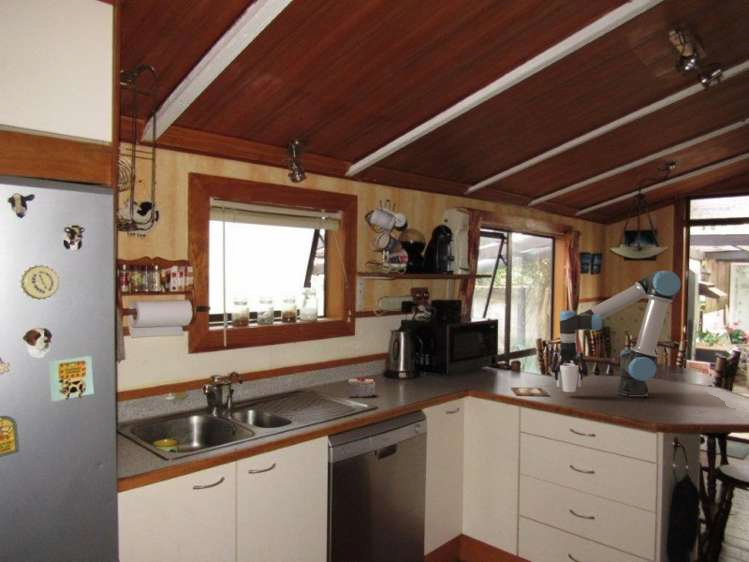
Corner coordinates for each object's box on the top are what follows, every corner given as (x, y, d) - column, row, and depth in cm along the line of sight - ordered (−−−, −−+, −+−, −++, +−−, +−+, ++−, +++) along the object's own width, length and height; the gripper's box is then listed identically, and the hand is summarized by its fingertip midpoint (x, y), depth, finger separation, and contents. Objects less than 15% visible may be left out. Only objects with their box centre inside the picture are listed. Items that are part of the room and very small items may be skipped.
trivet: (541, 389, 287) (541, 387, 287) (549, 396, 271) (549, 394, 271) (510, 389, 288) (510, 386, 288) (516, 395, 272) (516, 393, 272)
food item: (373, 394, 275) (373, 374, 275) (375, 397, 267) (375, 377, 267) (346, 394, 273) (347, 375, 273) (347, 398, 266) (347, 378, 265)
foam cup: (575, 393, 263) (574, 366, 263) (556, 391, 269) (555, 365, 269) (581, 389, 271) (580, 364, 271) (562, 388, 277) (562, 362, 277)
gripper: (588, 340, 273) (588, 384, 273) (543, 341, 274) (544, 385, 275) (593, 342, 265) (593, 387, 266) (547, 343, 267) (548, 388, 267)
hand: (568, 386), depth 270 cm, fingers closed on foam cup, 9 cm apart
